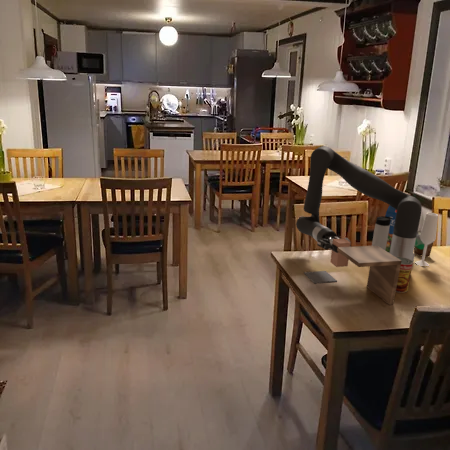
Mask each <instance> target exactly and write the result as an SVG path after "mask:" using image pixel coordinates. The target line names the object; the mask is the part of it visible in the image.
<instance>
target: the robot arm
mask: <svg viewBox="0 0 450 450" xmlns="http://www.w3.org/2000/svg"><path fill="white" fill-rule="evenodd" d="M327 170H329V171H332V172H334V173H335V174H337V175H338V176H340V178H342V180H344V181H345V182H346V183H347V184H348V185H349V186H350V187H352V188H353V189H354V190H356V191H357V192H359V193H361V194H362V195H364V196H367V197H369V198H372V199H375V200H378V201H380V202H383V203H385V204H387V205H388V206H389V205H390V206H392V207H393V208H395V209H396V210H397V213H396V219H395V225H394V231H393V237H392V242H391V248H390V254H391V255H393V256H395V257H404V258H408V259H410V260H412V261H413V262H414V260H415V257H416V256H415V255H416V254H415V253H414V246H415V241H416V236H417V231H419V226H420V221H421V216H422V215H421V214H422V210H423V209H422V208H423V207H422V203H421V201H420V200H419V199H418V198H416V197H415V196H413V195H410V194H408V193H406V192H404V191H401V190H399V189H398V188H396V187H394V186H392V184H389V183H388V182H386V180H384V179H382V178H380V177H379V176H377V175H375V174H374V173H372V172H371V171H368V170H367V169H366V168H363V167H362V166H360V165H357V164H355V163H354V162H351V161H349V160H348V159H346V158H345V157H344V156H342V155H341V154H339V153H338V152H336V151H335V150H333V149H332V148H331V147H329V146H327V145H322V146H319V147H317V148H315V149H314V150H313V151H312V152H311V154H310V161H309V177H308V178H309V179H308V185H307V190H306V195H305V199H304V204H303V211H304V212H305V213H307V214H309V215H310V214H311V215H310V216H300V217H298V218H297V220H296V223H295V226H296V229H297V231H299V233H301V234H304V235H307V236H310V237H311V238H313V239H314V240H315V241H316V242H317V244H316V245H317V247H320V248H322V249H324V250H327V251H328V250H330V251H332V250H333V251H334V252H336V253H338V251H337V248H338V247H337V246H336V245H333V239H342V238H340V237H339V236H338V235H337V232H335V231H334V230H333V229H331V228H329V227H327V226H325V225H323V224H322V223H320V222H321V221H320V207H321V203H322V202H321V201H322V199H323V187H324V186H323V184H324V179H325V175H326V172H327ZM345 239H346V240H348V241H349V242H351V240H350V239H349V238H348V237H345ZM351 245H352V244H351ZM351 245H350V247H352V246H351ZM413 265H414V264H413ZM413 265H412V267H413ZM412 271H413V270H411V272H412Z"/></svg>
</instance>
